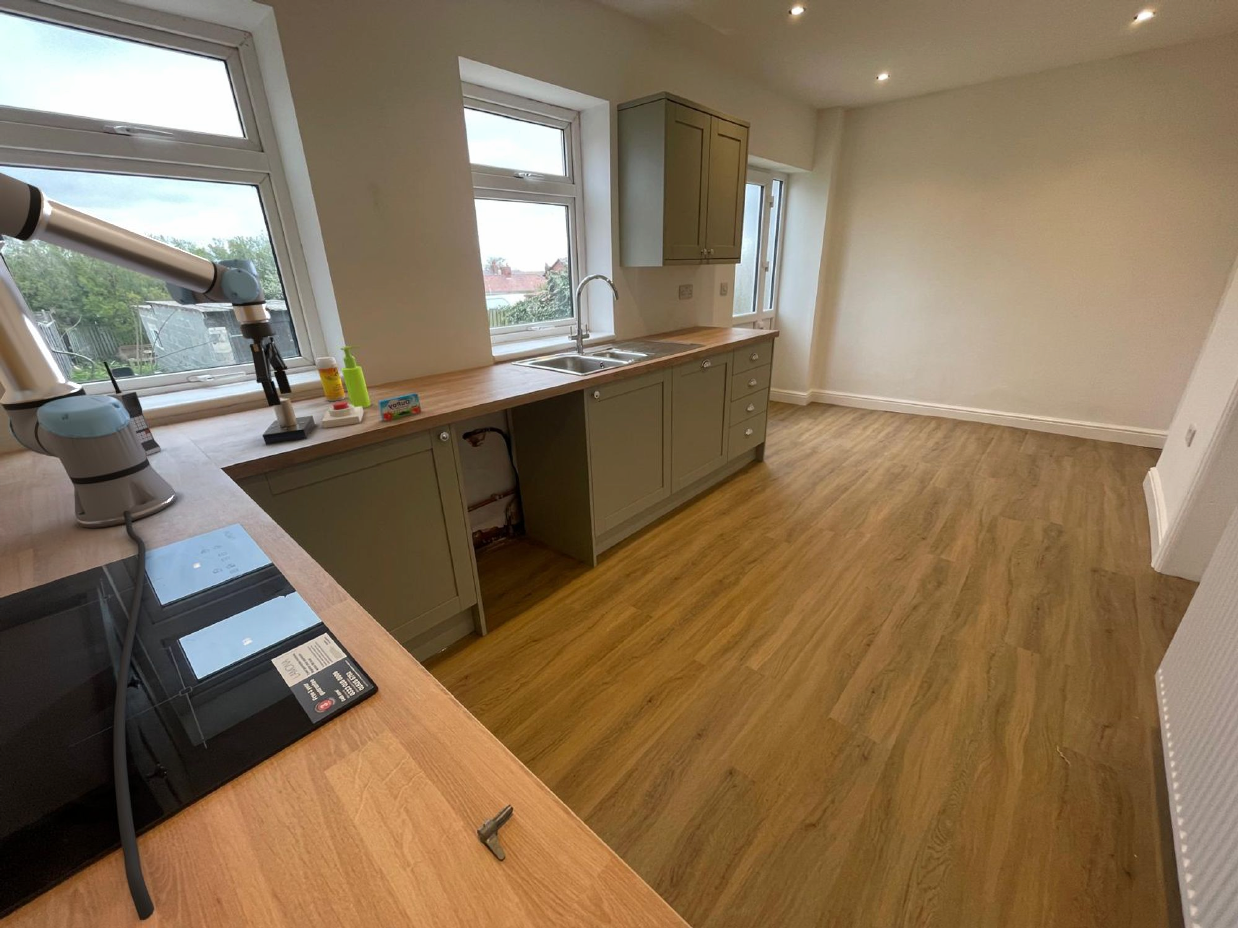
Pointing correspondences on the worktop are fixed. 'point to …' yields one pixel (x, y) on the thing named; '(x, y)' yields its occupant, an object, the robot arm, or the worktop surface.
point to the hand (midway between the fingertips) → (281, 399)
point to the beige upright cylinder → (285, 413)
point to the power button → (340, 405)
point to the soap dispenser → (354, 380)
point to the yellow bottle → (330, 378)
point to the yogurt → (399, 406)
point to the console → (289, 431)
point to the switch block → (343, 416)
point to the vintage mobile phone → (135, 416)
